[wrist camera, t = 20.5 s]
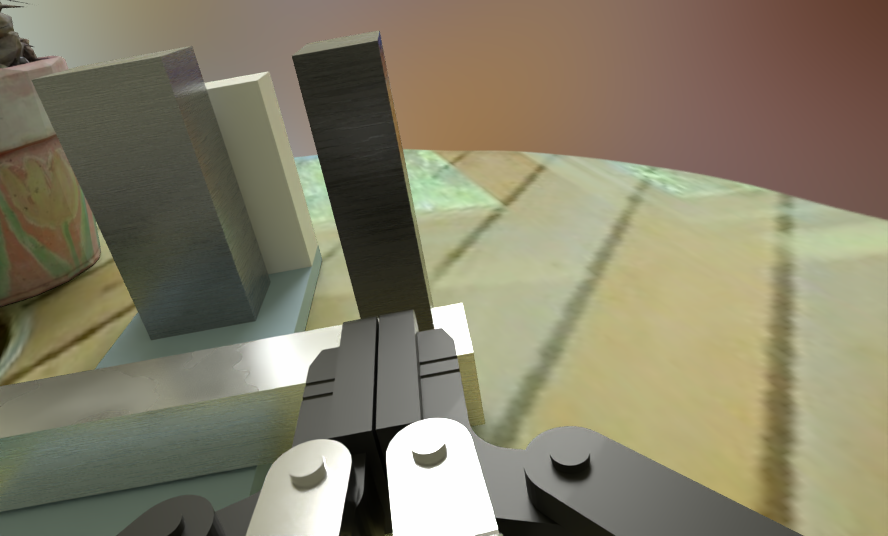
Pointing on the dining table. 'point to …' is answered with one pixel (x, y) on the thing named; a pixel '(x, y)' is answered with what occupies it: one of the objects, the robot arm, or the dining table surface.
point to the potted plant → (36, 182)
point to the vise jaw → (250, 363)
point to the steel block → (160, 188)
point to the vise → (283, 312)
